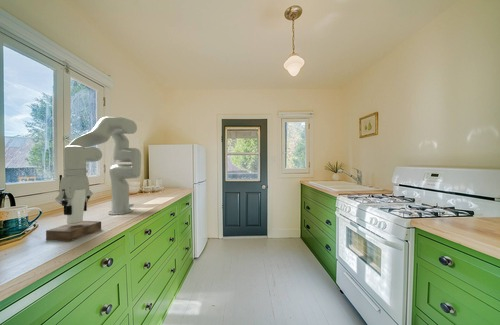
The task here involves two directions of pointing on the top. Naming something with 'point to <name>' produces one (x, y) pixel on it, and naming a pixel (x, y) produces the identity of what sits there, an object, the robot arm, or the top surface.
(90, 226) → the walnut block
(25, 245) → the top surface
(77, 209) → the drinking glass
